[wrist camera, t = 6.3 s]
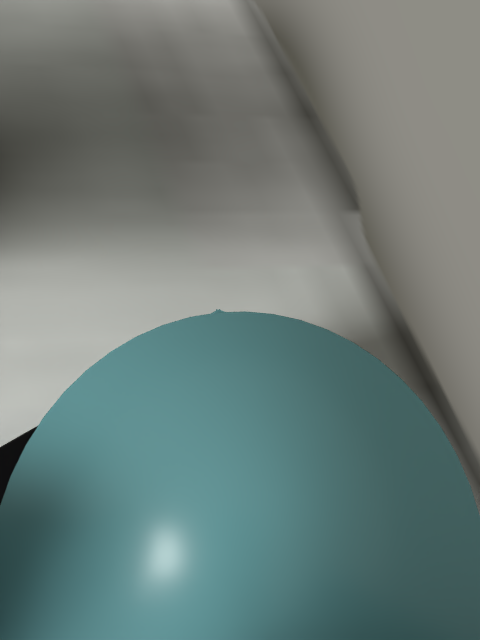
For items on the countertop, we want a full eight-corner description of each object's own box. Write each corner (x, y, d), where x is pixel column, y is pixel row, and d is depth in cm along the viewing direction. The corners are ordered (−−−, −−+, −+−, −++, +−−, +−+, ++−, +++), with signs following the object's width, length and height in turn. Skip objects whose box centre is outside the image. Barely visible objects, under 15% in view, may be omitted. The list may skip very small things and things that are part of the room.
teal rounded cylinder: (202, 574, 14) (110, 1052, 4) (132, 422, 16) (-83, 446, 5) (343, 487, 15) (600, 668, 5) (265, 350, 17) (321, 240, 6)
